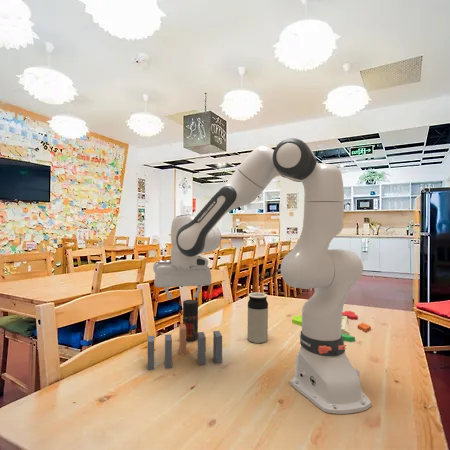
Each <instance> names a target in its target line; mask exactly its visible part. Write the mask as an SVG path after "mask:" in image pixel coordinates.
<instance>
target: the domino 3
mask: <svg viewBox="0 0 450 450" xmlns="http://www.w3.org/2000/svg"><path fill="white" fill-rule="evenodd" d="M178 328H179V330H178V332H179V335H178V336H179V339H178V340H179V342H178V343H179V345H178V346H179V353H180V356H181V355H183V356H185V355H187V342H186V326H185V324H183V323H182V324H179V327H178Z"/></svg>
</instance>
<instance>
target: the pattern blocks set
mask: <svg viewBox="0 0 450 450" xmlns="http://www.w3.org/2000/svg"><path fill="white" fill-rule="evenodd" d="M358 318H359V316H358V315H357V314H356V313H355V312H353V311H351V310H345V311H344V312H343V311H342V323H341V335H342V337H343V341H344V342H349V343H351V342H356V338H355V336H354V335H352V334H351V331H350V326H349V323H348V320H350V321H351V320H352V321H358V320H359V319H358ZM291 320H292V321H291V322H292V325H297V326H301V327H302V315H293V316H292V317H291ZM371 328H372V326H371V325H369V324H367V323H364V322H360V323H358V324H357V329H358V330H360V331H361V330H362V332H363V333H364V334H365V333H367V331H368V332H369V330H370V331H371V330H372V329H371Z"/></svg>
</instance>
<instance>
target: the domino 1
mask: <svg viewBox="0 0 450 450" xmlns="http://www.w3.org/2000/svg"><path fill="white" fill-rule="evenodd" d="M153 370H155V335H148V336H147V371H153Z"/></svg>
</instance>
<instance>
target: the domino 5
mask: <svg viewBox="0 0 450 450" xmlns="http://www.w3.org/2000/svg"><path fill="white" fill-rule="evenodd" d="M212 333H213V339H212V340H213V347H212V348H213V349H212V350H213V352H212V353H213V355H212V356H213V359H214V362H215V364H222V363H223V335H222V333H221V332H220V330H213V332H212Z"/></svg>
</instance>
